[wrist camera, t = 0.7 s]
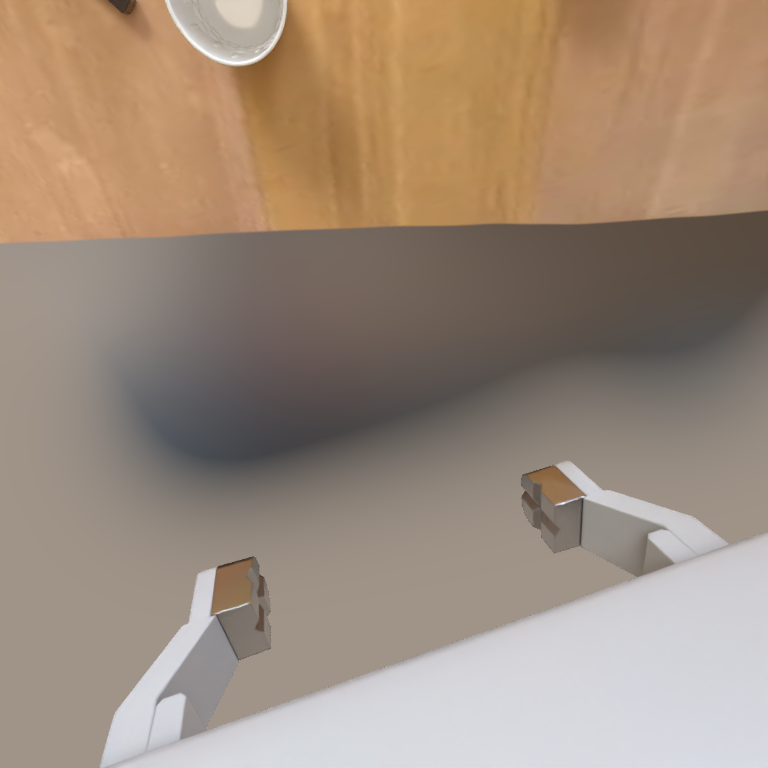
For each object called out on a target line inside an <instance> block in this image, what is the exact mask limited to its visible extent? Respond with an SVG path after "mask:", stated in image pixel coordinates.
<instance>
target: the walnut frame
mask: <svg viewBox="0 0 768 768" xmlns="http://www.w3.org/2000/svg"><path fill="white" fill-rule="evenodd" d="M109 1H110V2H111V3H112V4H113V5H114V6H115V7H116V8H118V9H119V10H120V11H121V12H122V13H123V14H130V13H131V11H132V9H133V7H134V5H135V3H136V0H109Z"/></svg>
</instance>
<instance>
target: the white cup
mask: <svg viewBox="0 0 768 768" xmlns="http://www.w3.org/2000/svg"><path fill="white" fill-rule="evenodd" d="M165 3H166V6H167V8H168V11H169V13H170V15H171V17H172V19H173V21H174V23H175V24H176V26H177V28H178V29H179V31H180V32H181V33H182V35H183V36H184V37H185V38H186V40H187V41H188V42H189V43H190V44H191V45H192V46H193V47H194V48H195V49H196V50H198V51H199V52H200V53H201V54H203V55H204V56H206V57H207V58H209V59H211V60H213V61H215V62H217V63H220V64H223V65H228V66H247V65H251V64H254V63H256V62H258V61H260V60H261V59H263V58H264V57H266V56H267V55H268V54H269V53H270V52H271V51H272V50H273V48H274V47H275V45H276V44H277V42H278V41H279V39H280V36H281V34H282V32H283V29H284V26H285V22H286V17H287V0H165Z"/></svg>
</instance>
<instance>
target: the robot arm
mask: <svg viewBox="0 0 768 768" xmlns="http://www.w3.org/2000/svg"><path fill="white" fill-rule="evenodd" d="M521 486H522V487H523V488H524V489H525V492H524V494H523V495H522V507H523V510H524V513H525V515H526V517H527V519H528V521H529V522H530V523H531V525H532V526H533V527H535V528H537V529H540V530H541V538H542V539H543V540H544V541H545V543H546V544H547V545H548V546H549V547H550V549H551V550H552V551H553V552H554V553H557V552H561V551H564V550H567V549H570V548H574V547H577V546H580V545H581V547H582V548H584V549H586V550H588V551H590V552H592V553H593V554H595V555H597V556H599V557H601V558H603V559H605V560H606V561H608V562H610V563H612V564H614V565H616V566H618V567H620V568H621V569H623V570H625V571H627V572H629V573H631V574H633V575H635V576H636V577H637V578H634V579H631V580H628V581H626V582H623V583H620V584H617V585H615V586H612V587H609V588H606V589H603V590H600V591H598V592H595V593H592V594H589V595H586V596H583V597H581V598H578V599H575V600H572V601H569V602H567V603H564V604H561V605H558V606H555V607H552V608H550V609H547V610H544V611H541V612H538V613H536V614H533V615H530V616H527V617H524V618H521V619H519V620H516V621H513V622H510V623H508V624H505V625H502V626H499V627H496V628H493V629H491V630H488V631H485V632H482V633H479V634H477V635H474V636H471V637H468V638H466V639H462V640H460V641H457V642H454V643H451V644H448V645H446V646H443V647H440V648H437V649H435V650H432V651H429V652H426V653H423V654H421V655H418V656H415V657H412V658H410V659H406V660H403V661H401V662H398V663H395V664H392V665H390V666H387V667H384V668H381V669H379V670H376V671H373V672H370V673H367V674H364V675H361V676H359V677H356V678H353V679H350V680H347V681H345V682H342V683H339V684H336V685H333V686H331V687H328V688H325V689H322V690H319V691H316V692H314V693H311V694H308V695H305V696H302V697H300V698H297V699H294V700H291V701H288V702H286V703H283V704H280V705H277V706H274V707H272V708H269V709H266V710H263V711H260V712H257V713H255V714H252V715H249V716H246V717H243V718H241V719H238V720H235V721H232V722H229V723H227V724H224V725H221V726H218V727H215V728H213V729H210V730H207V729H206V727H207V725H208V723H209V721H210V719H211V717H212V715H213V713H214V711H215V709H216V707H217V705H218V703H219V701H220V699H221V697H222V695H223V693H224V691H225V689H226V687H227V685H228V684H229V682H230V679H231V678H232V676H233V674H234V671H235V670H236V668H237V666H238V663H239V660H241V659H244V658H247V657H249V656H252V655H255V654H258V653H260V652H263V651H266V650H268V649H271V626H270V623H269V621H268V619H267V616H268V615H269V613H270V598H269V591H268V588H267V584H266V581H265V578H264V577H263V576H261V575H259V564H258V561H257V559H256V558H255V557H250V558H246V559H243V560H239V561H235V562H232V563H228V564H224V565H221V566H218V567H216V568H212V569H208V570H204V571H201V572H199V574H198V575H197V577H196V583H195V589H194V595H193V601H192V606H191V611H190V618H189V623H188V624H186V625H183V626H182V627H181V628H180V630H179V631H178V632H177V634H176V635H175V636H174V637H173V639H172V640H171V641H170V643H169V644H168V645H167V646H166V648H165V649H164V650H163V652H162V653H161V654H160V655H159V657H158V658H157V659H156V661H155V662H154V663H153V664H152V666H151V667H150V668H149V670H148V671H147V672H146V673H145V675H144V676H143V677H142V679H141V680H140V681H139V682H138V684H137V685H136V687H135V688H134V689H133V690H132V691H131V693H130V694H129V695H128V697H127V698H126V699H125V701H124V702H123V703H122V705H121V706H120V707H119V708H118V709H117V711H116V712H115V714H114V717H113V721H112V724H111V727H110V731H109V734H108V738H107V741H106V745H105V748H104V752H103V755H102V759H101V762H100V766H99V768H768V531H766V532H763V533H760V534H758V535H755V536H752V537H749V538H746V539H744V540H741V541H738V542H735V543H732V544H728V543H727V542H726V541H724V540H723V539H722V538H720V537H719V536H718V535H716V534H715V533H714V532H713V531H711V530H710V529H709V528H707V527H706V526H705V525H704V524H702V523H701V522H700V521H698V520H697V519H695V518H694V517H692V516H689V515H686V514H683V513H679V512H677V511H673V510H670V509H667V508H664V507H661V506H657V505H654V504H651V503H648V502H645V501H642V500H639V499H635V498H632V497H629V496H626V495H623V494H620V493H616V492H613V491H610V490H606V491H603V490H602V489H601V488H600V487H599V486H597V485H596V484H595V483H594V482H593V481H592V480H590V478H588V477H587V476H586V475H585V474H584V473H583V472H582V471H580V470H579V469H578V468H577V467H576V466H575V465H574V464H573V463H571V462H570V461H564V462H561V463H558V464H555V465H552V466H549V467H546V468H543V469H540V470H536V471H533V472H530V473H527V474H523V475H522V478H521Z"/></svg>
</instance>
